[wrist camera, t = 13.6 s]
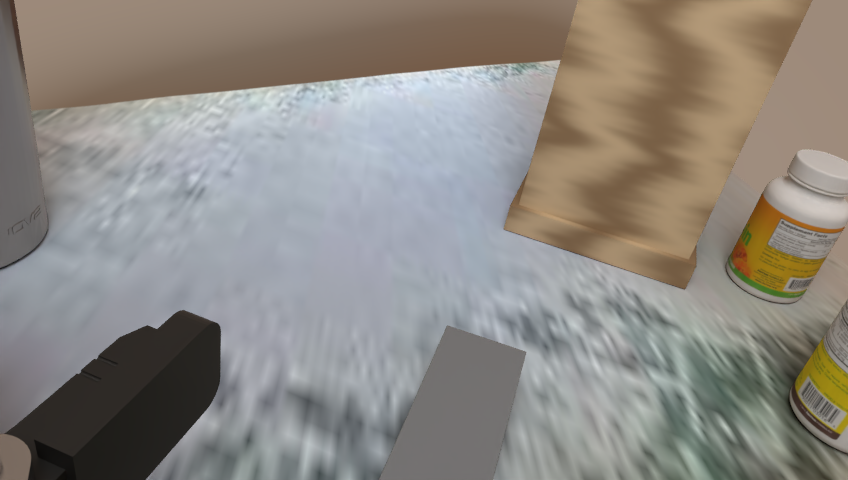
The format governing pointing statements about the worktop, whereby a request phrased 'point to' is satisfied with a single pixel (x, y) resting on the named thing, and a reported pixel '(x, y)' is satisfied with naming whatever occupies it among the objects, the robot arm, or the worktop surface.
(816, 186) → the supplement bottle
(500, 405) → the block
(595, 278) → the worktop surface
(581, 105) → the stand
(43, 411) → the robot arm
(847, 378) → the supplement bottle
